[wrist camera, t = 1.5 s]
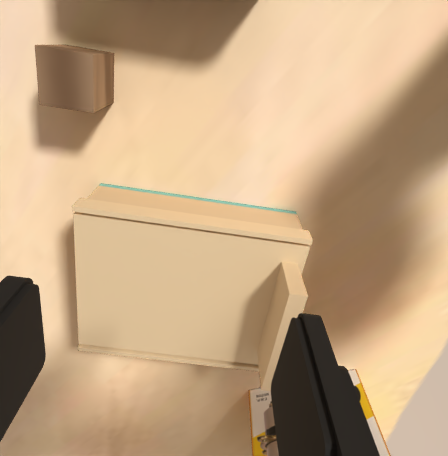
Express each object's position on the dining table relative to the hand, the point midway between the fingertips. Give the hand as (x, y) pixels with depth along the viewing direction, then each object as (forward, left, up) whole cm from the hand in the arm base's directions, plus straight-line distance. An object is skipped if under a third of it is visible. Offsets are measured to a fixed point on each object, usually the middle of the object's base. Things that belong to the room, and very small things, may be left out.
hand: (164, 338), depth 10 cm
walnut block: (+12, -3, -30) cm, 32 cm away
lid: (0, +16, -24) cm, 28 cm away
